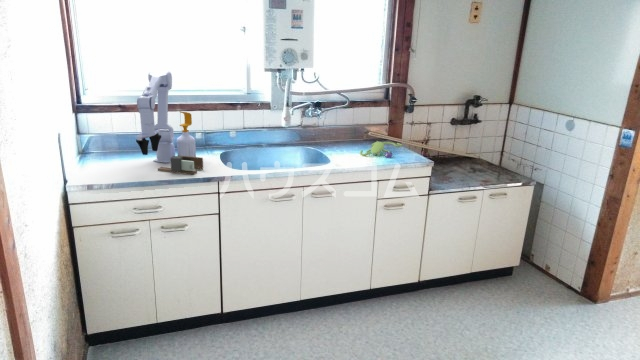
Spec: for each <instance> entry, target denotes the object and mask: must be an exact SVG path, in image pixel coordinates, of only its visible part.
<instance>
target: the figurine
mask: <svg viewBox="0 0 640 360" xmlns="http://www.w3.org/2000/svg"><path fill="white" fill-rule="evenodd" d="M385 145H392V146H394V147H395V148H400V147H402V146H403V144H402V143H400V142H397V143H396V142H389V141H387V142H386V141H384V142H382V141H378V140H376V141H375V142H374V143H371V146H370V148H369V149H368V150H366V152H365V153H363V149H362V150H361V149H360V151H359V152H360V153H359V155H360V156H362V157H363V156H364V157H365V156H368V155H370V154H371V153H372V155H373V156H374V155H377V156H380V154H381V152H383V153H384V156H385V158H388V159H389V158H391V157H392V156H393V153H392V151H390V150H386V149H385Z"/></svg>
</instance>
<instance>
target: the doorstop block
mask: <svg viewBox="0 0 640 360" xmlns="http://www.w3.org/2000/svg"><path fill="white" fill-rule="evenodd" d="M181 160H183V158H182V156H178V155H175V156H172V157H171V161H170V168H171V171H181Z"/></svg>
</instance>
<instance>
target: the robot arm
mask: <svg viewBox="0 0 640 360" xmlns="http://www.w3.org/2000/svg"><path fill="white" fill-rule="evenodd" d="M147 77H148V82H149V84H148V85H147V86H146V87H145V88H144V90H143V92H142V95H140V96H139V97H137V99H136V106H137V109H138V114H139V117H140V129H141V132H139V134H137V135H136V139H135V142H136V143H137V145H138V146H139V148H140V152H141V153H142V155H143V156H148V153H149V144H151V149H152V151H153V152H156V159H154V160H153V161H152V162H157V163H165V164H168V163H171V157H172V156H176V146H175V144H174V140H175V135H174V134H175V133H174V128H173V126H171V125H170V124H169V123H168V122H169V121H168V120H169V119H168V116H169V114H168V112H169V111H168V110H169V107H168V106H169V104H168V103H169V101H168V100H169V91H170V90H172V87H173V77H172V73H171V72H170V71H169V70H167V71H163V70H162V71H161V70H159V71H158V70H150V71H149V72H148V76H147ZM156 98H157V121H156V122H157V123H156V124H155V113H154V112H155V111H154V109H155V107H156ZM148 138H149V140H147V139H148Z"/></svg>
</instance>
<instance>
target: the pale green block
mask: <svg viewBox="0 0 640 360" xmlns="http://www.w3.org/2000/svg"><path fill="white" fill-rule="evenodd" d="M181 170H186V171H195V169H194V161H187V160H181Z"/></svg>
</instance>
